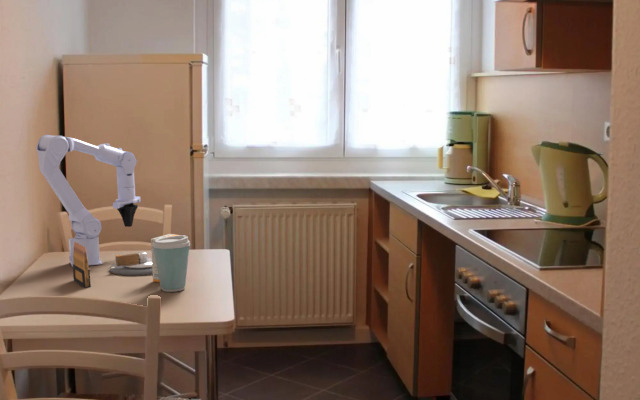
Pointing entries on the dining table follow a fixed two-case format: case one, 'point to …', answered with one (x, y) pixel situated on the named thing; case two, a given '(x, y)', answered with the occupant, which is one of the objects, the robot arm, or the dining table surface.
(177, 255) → the disposable coffee cup
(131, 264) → the dial
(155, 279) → the supplement box
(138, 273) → the dial base
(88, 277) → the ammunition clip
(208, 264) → the dining table surface
